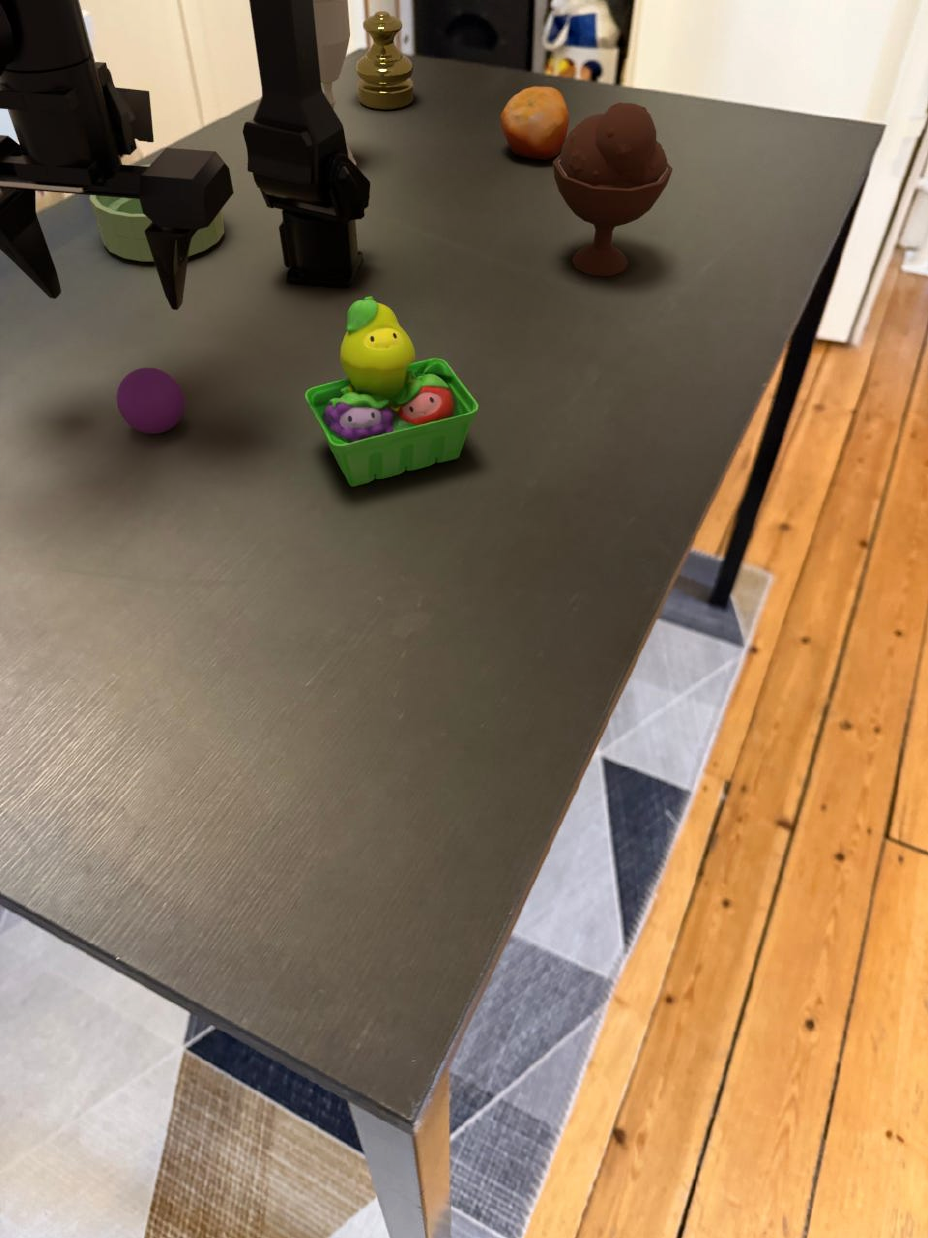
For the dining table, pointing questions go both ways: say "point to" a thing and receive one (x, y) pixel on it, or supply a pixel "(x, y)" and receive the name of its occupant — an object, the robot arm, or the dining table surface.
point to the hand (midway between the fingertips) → (116, 301)
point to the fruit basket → (389, 401)
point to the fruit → (536, 122)
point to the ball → (150, 400)
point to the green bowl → (140, 228)
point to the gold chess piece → (384, 66)
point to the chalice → (332, 43)
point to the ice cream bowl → (611, 178)
